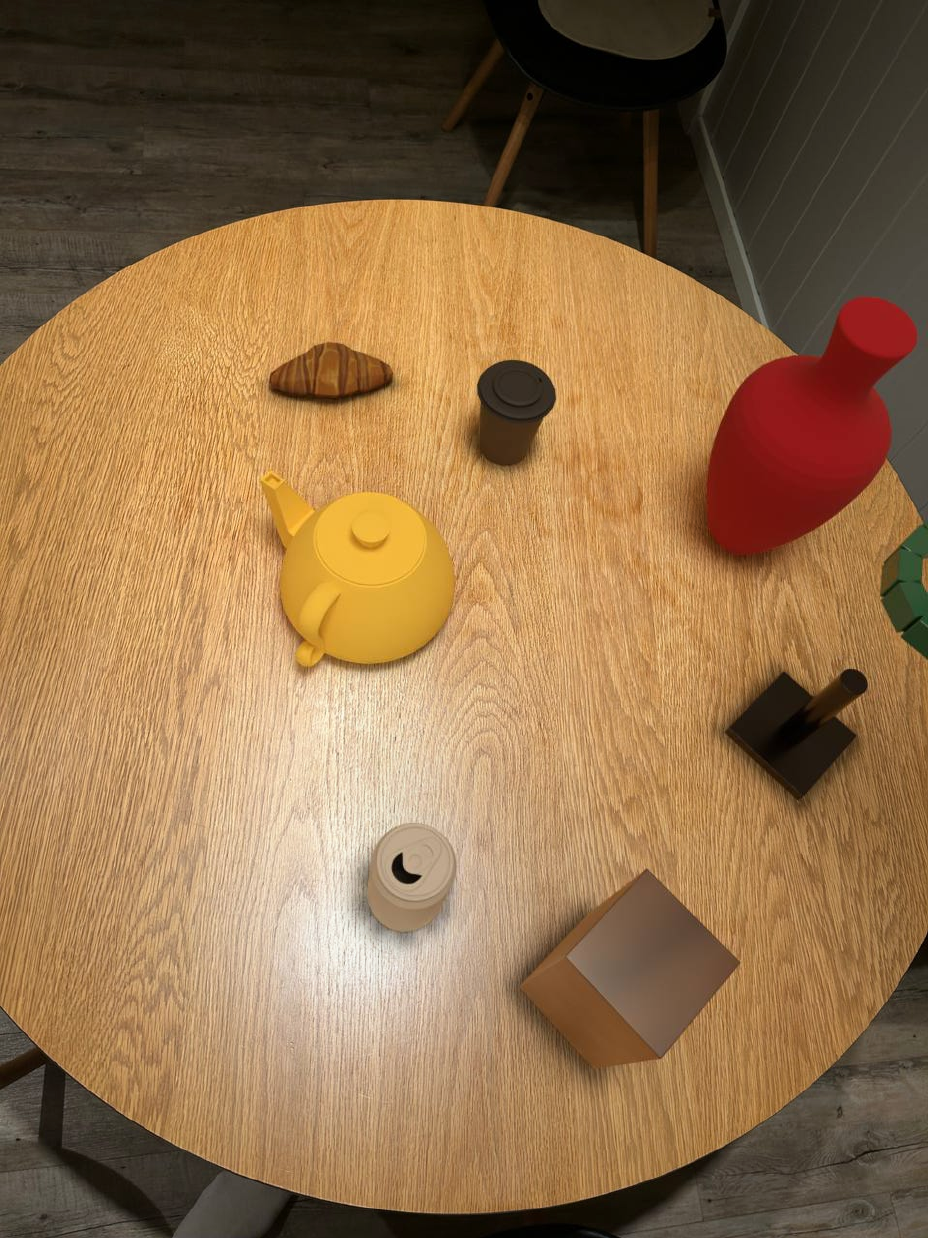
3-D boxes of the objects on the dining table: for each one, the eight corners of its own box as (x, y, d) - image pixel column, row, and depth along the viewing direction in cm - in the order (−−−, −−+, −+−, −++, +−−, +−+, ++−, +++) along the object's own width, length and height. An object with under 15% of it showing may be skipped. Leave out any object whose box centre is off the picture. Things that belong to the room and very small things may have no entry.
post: (851, 740, 91) (926, 686, 79) (797, 800, 87) (868, 753, 75) (778, 675, 93) (841, 614, 81) (724, 732, 89) (781, 676, 78)
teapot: (483, 581, 94) (502, 509, 83) (372, 724, 86) (377, 667, 74) (322, 480, 97) (319, 398, 86) (201, 608, 89) (180, 537, 78)
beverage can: (351, 889, 79) (353, 855, 68) (409, 840, 81) (420, 800, 71) (400, 950, 77) (409, 925, 66) (458, 898, 79) (476, 866, 69)
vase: (773, 465, 105) (918, 250, 79) (826, 577, 99) (1003, 385, 72) (652, 482, 102) (761, 265, 76) (699, 600, 96) (835, 408, 69)
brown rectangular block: (659, 991, 78) (741, 962, 62) (592, 1069, 74) (661, 1059, 59) (586, 915, 80) (647, 867, 64) (518, 987, 77) (564, 956, 61)
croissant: (387, 357, 106) (389, 324, 101) (397, 404, 103) (399, 372, 99) (266, 365, 103) (263, 332, 99) (272, 413, 100) (269, 381, 96)
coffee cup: (555, 448, 103) (575, 386, 94) (505, 489, 99) (521, 429, 91) (501, 404, 105) (515, 340, 96) (450, 443, 101) (461, 380, 93)
